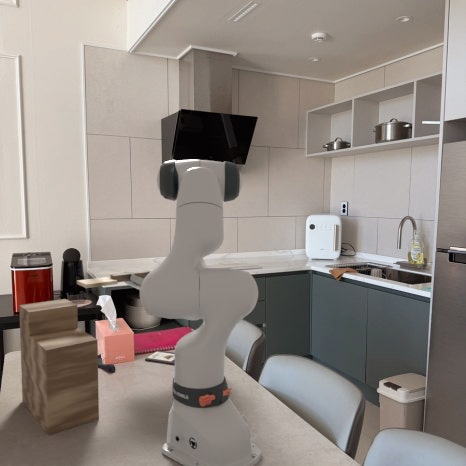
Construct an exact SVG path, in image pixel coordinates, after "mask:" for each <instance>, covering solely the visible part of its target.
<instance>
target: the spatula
mask: <svg viewBox="0 0 466 466" xmlns="http://www.w3.org/2000/svg"><path fill="white" fill-rule="evenodd" d="M151 271H152V270H151ZM151 271H150V270H141V271H140V270H139V271H131V272H130V271H129V272H127V273H124V272H123V273H122V272H121V273H113V274H110V277H108V276H105V277H103V276H102V277H96V278H87V279H79V280H76V285H78V286H80V287H83V288H85V289H89V288H97V287H98V288H99V287H106V286H114V285H118V284H119V283H125V281H132V280H130V279H129V276H130V274H134V275H136V276H138V277H141V278H145V277H146V276H147V275H148V274H149V273H150V272H151Z"/></svg>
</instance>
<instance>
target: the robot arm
mask: <svg viewBox="0 0 466 466" xmlns="http://www.w3.org/2000/svg"><path fill="white" fill-rule="evenodd" d="M156 185H157V188H158V190H159V194H160V195H161V196H162V197H163V198H164V199H166V200H169V201H174V202H175V201H176V208H175V209H176V210H175V211H176V212H175V228H174V229H175V230H174V236H173V242H172V245H171V248H170V251H169V252H168V254H167V256H166V257H165V258H164V260H163V261H162V262H161V263H160V264H158V266H156V268H154V269H153V270H151V272H150V273H149V274H148V275H147V276H146V277H145V278H141V277H138V276H136V275H134V274H130V276H129V279H130V280H132V281H125V282H124V283H125V284H126V285H128V286H130V287H132V288H134V289H136V290H138V291H139V299H140V303H141V305H142V308H143V309H144V311H145V312H146V313H147V315H149V316H153V317H156V318H157V317H159V318H164V319H169V320H172V319H173V320H174V319H175V320H177V319H180V320H181V319H184V320H187V321H198V320H202V324H201V325H200V326H198V328H196V329H195V330H192V331H190V332H188V333H186V334H185V335H184V336H182V337H181V338H180V339H179V340H178V341H177V342H176V345H175V347H174V353H175V365H174V376H173V379H172V385H171V389H172V397H173V402H172V405H171V408H170V410H169V412H168V417H167V419H168V420H167V429H166V442H165V443H164V444H163V445H162V448H161V449H162V450H161V453H162V454H163V455H164V456H166V457H168V458H169V459H172V460H174V461H175V462H177V463H179V464H181V465H182V466H255V465H256V464H258V463H259V461H260V460H261V458H262V457H263V453H262V451H263V450H261V448H260V447H258V445H257V444H255V442H253V441H252V440H251V431H250V428H249V425H248V422H247V421H248V420H247V417H246V415H245V414H244V413H240V412H239V410H238V408H237V407H236V406H235V404H234V403H233V401H232V399H231V398H230V395H231V394H232V393H233V392H230V391H232V390H233V389H232V387H231V388H229V385H228V381H227V378H226V376H225V361H226V350H227V345H228V341H229V338H230V336H231V334H232V332H233V330H234V329H235V328H236V326H237V325H239V323H240V322H241V321H242V320H244V318H246V316H248V315H249V314H251V312H253V310H254V309H255V307H256V305H257V302H258V299H259V288H258V284H257V281H256V280H255V278H254V276H253V275H252V274H251V273H250V272H249V271H245V270H241V269H235V268H230V267H212V268H211V267H208V265H207V264H206V263H205V260H204V258H205V257H207V256H210V255H211V254H213V253H215V252H217V250H219V249H220V248H221V246H222V245H223V242H224V240H225V238H224V237H225V236H224V202H231V201H235V200H236V199H237V198H238V197H239V196H240V192H241V190H242V187H243V176H242V173H241V171H240V168H239V166H238V165H237V164H236V163H234V162H230V161H225V160H224V161H223V162H222V161H218V160H217V161H215V160H208V159H199V158H198V159H194V158H193V159H182V160H181V159H180V160H176V159H172V160H167V161H164V162H163V163H162V164H161V165H160V167H159V170H158V172H157V175H156ZM123 273H128V272H127V271H125V272H123Z"/></svg>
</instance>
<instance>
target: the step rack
mask: <svg viewBox="0 0 466 466" xmlns="http://www.w3.org/2000/svg"><path fill="white" fill-rule="evenodd" d="M18 309H19V310H18V311H19V334H20V336H19V337H20V360H21V361H20V362H21V363H20V365H21V393H22V398H21V399H22V400H21V401H22V402H23V404H24V405H25V406H26V408H27V409H28V410H29V412H30V413H31V415H32V416H33V417H34V418H35V420H36V421H37V422H38V423H39V425H40V426H41V427H42V429H43V430H44V431H45V433H46V435H47V436H51V435H54V434H57V433H60V432H63V431H66V430H69V429H72V428H76V427H79V426H82V425H85V424H89V423H92V422H94V421H97V420H99V419H100V406H99V405H100V404H99V403H100V401H99V400H100V399H99V367H98V355H99V353H98V350H99V348H98V347H99V346H98V339H97V338H96V337H94V336H93V335H92V334H89V333H88V332H86V331H84V330H83V329H81V328H79V326H78V325H79V323H78V322H79V320H78V319H79V318H78V317H79V316H78V304H77V303H75V302H72V301H70V300H68V298H67V299H66V298H62V299H54V300H46V301H40V302H33V303H26V304H20V305H19V307H18Z"/></svg>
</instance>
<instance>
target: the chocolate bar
mask: <svg viewBox="0 0 466 466" xmlns="http://www.w3.org/2000/svg"><path fill="white" fill-rule="evenodd" d="M144 361H145V362H151V363H157V364H159V363H160V364H165V365H172V366H175V352H173V351H166V350H157V351H155V352H154V353H152V354H151V355H149V356H148V357H146V358H144Z"/></svg>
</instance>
